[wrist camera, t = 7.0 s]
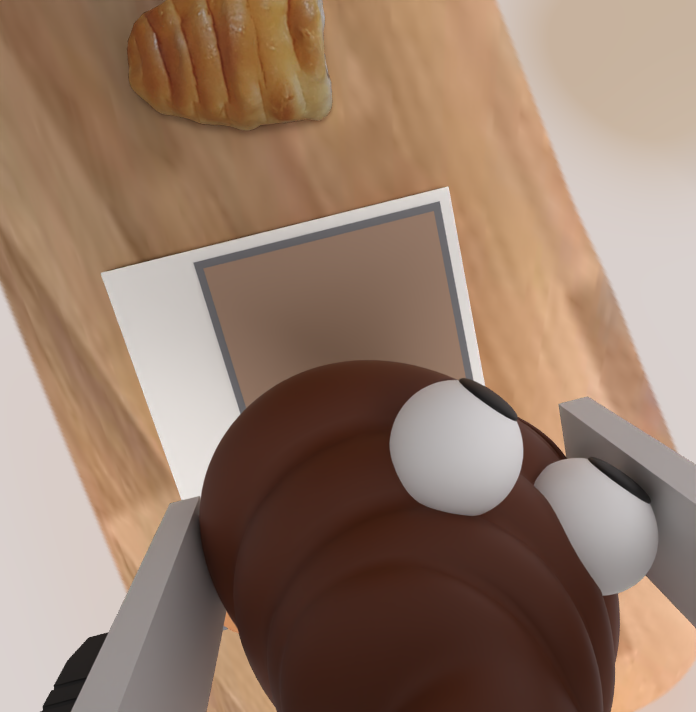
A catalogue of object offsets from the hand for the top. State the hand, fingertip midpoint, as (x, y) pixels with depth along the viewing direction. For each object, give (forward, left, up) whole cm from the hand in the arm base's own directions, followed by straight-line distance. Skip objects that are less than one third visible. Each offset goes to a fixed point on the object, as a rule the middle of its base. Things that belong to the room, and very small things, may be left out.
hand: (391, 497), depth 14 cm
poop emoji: (0, 0, -1) cm, 1 cm away
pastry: (-10, -11, -17) cm, 23 cm away
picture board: (+3, +1, -17) cm, 17 cm away
